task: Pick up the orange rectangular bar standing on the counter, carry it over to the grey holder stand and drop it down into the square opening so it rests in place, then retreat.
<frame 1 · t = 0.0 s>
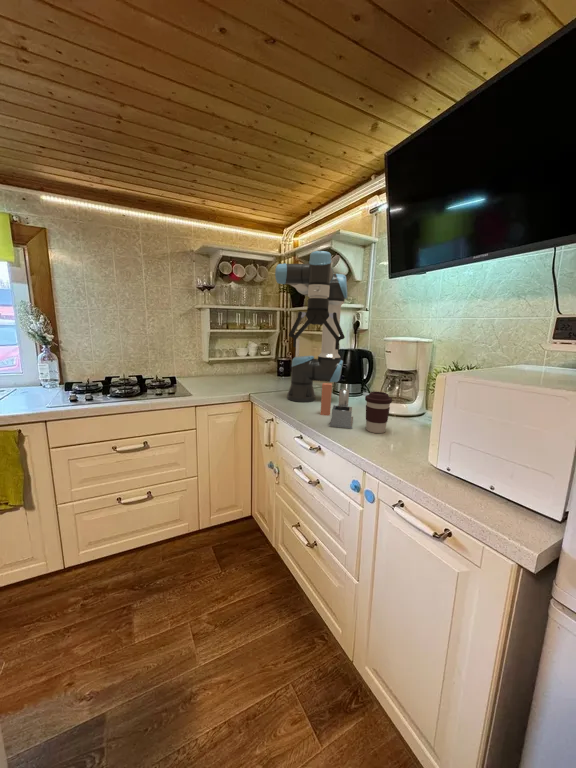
hand: (315, 357, 118), 28 cm above the worktop, fingers open, 13 cm apart
grey holder stand: (341, 422, 134), on the worktop
orange rectangular bar: (325, 414, 146), on the worktop
coffee cup: (375, 431, 125), on the worktop
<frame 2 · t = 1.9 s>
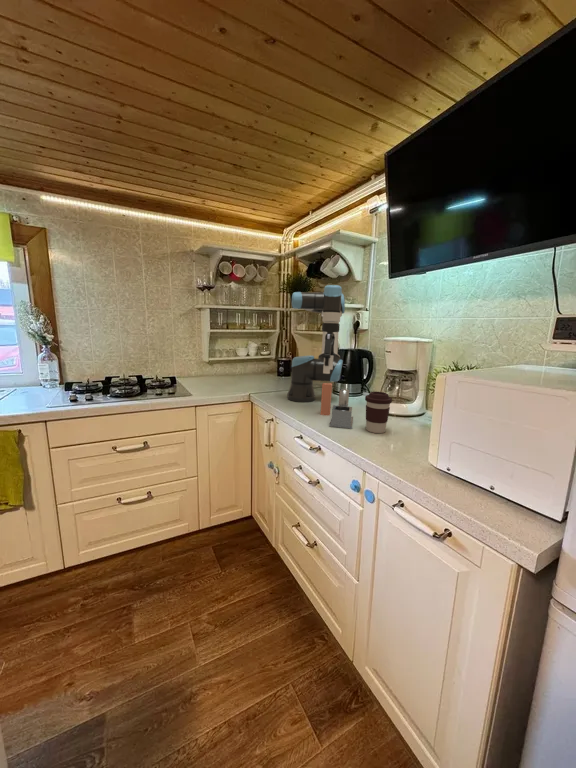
hand: (328, 371, 142), 20 cm above the worktop, fingers open, 13 cm apart
nothing on the worktop moved.
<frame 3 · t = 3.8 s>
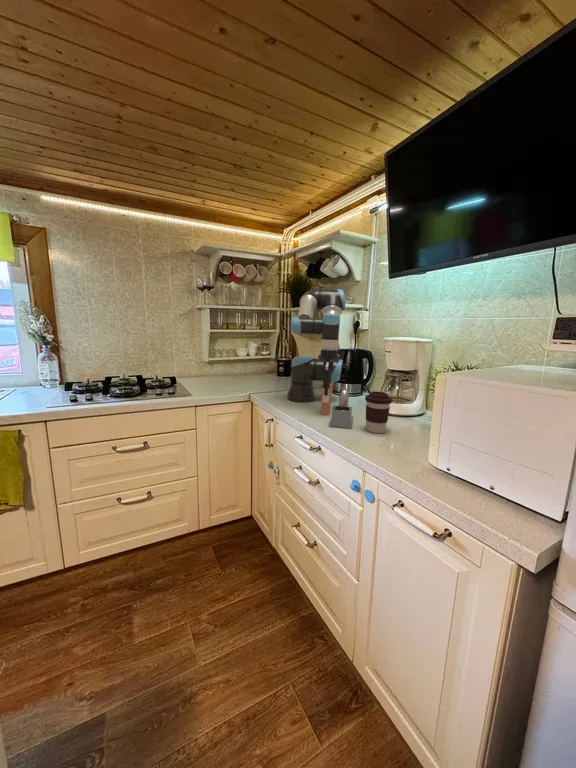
hand: (326, 400, 144), 6 cm above the worktop, fingers closed on orange rectangular bar, 4 cm apart
orange rectangular bar: (325, 414, 146), on the worktop, touching gripper
everything else where it was.
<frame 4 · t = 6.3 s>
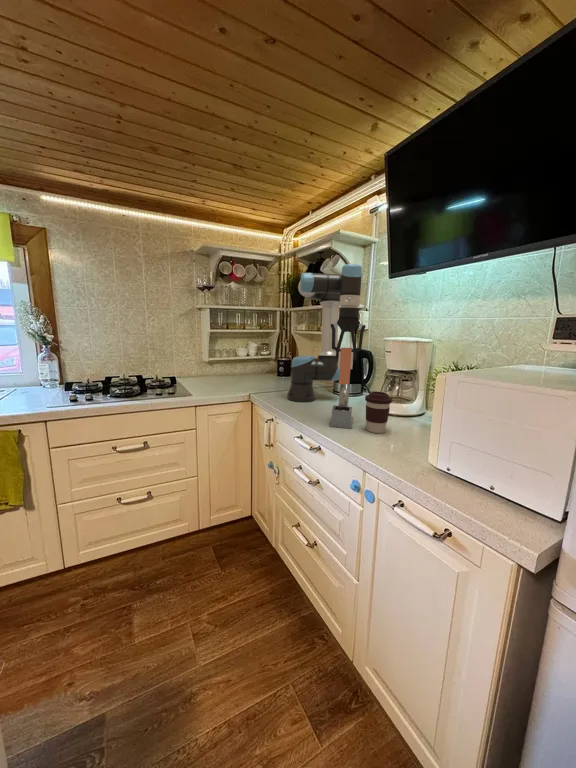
hand: (345, 368, 126), 23 cm above the worktop, fingers closed on orange rectangular bar, 4 cm apart
orange rectangular bar: (344, 383, 127), point 17 cm above the worktop, touching gripper
everything else where it was.
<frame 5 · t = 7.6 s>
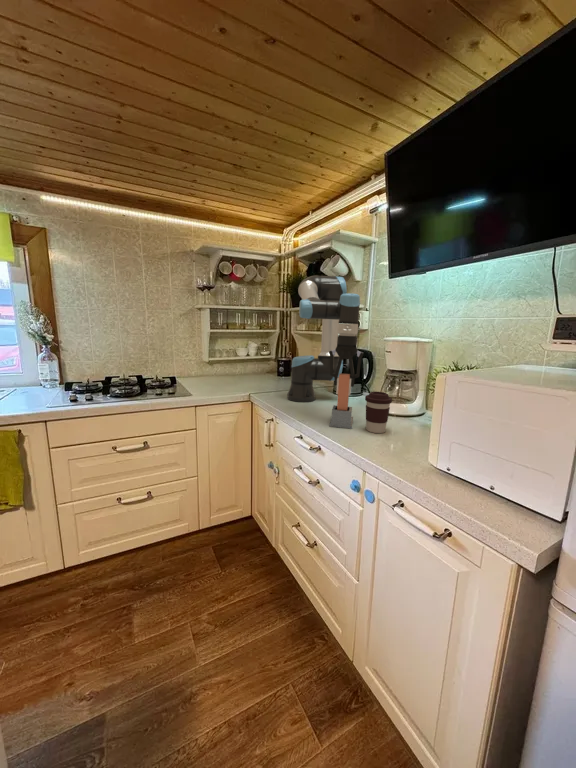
hand: (343, 393, 128), 13 cm above the worktop, fingers closed on orange rectangular bar, 4 cm apart
orange rectangular bar: (342, 408, 129), point 7 cm above the worktop, touching gripper
everything else where it was.
when the fingers open (9 cm above the worktop, at t = 8.8 s): orange rectangular bar drops 1 cm, resting on grey holder stand.
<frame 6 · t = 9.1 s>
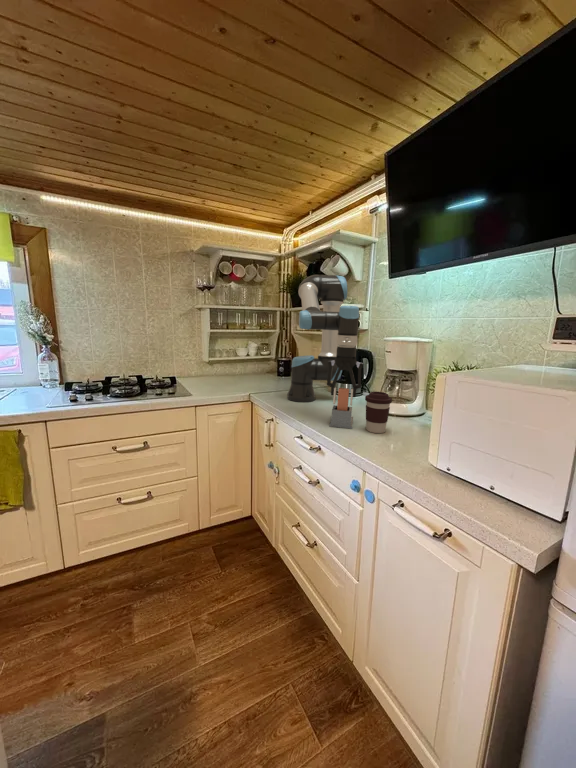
hand: (342, 403, 129), 9 cm above the worktop, fingers open, 6 cm apart
orange rectangular bar: (341, 422, 130), point 1 cm above the worktop, touching grey holder stand
everything else where it was.
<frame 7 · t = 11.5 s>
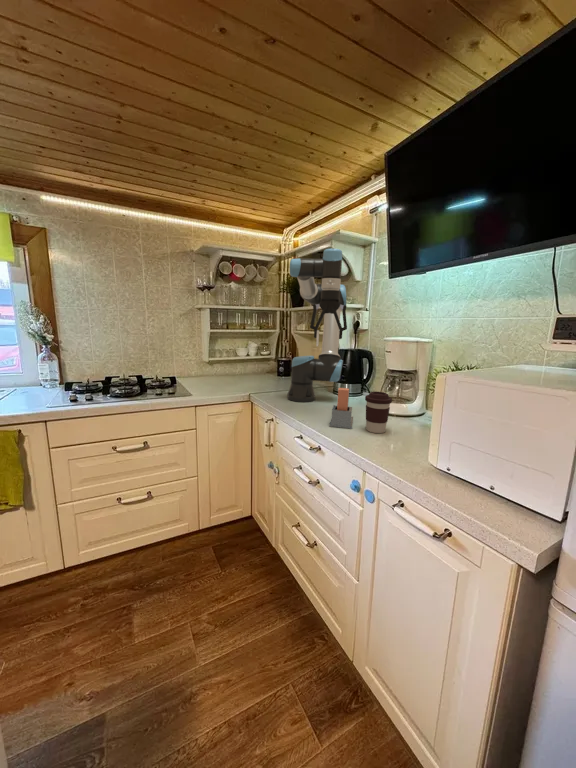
hand: (327, 346, 134), 31 cm above the worktop, fingers open, 8 cm apart
nothing on the worktop moved.
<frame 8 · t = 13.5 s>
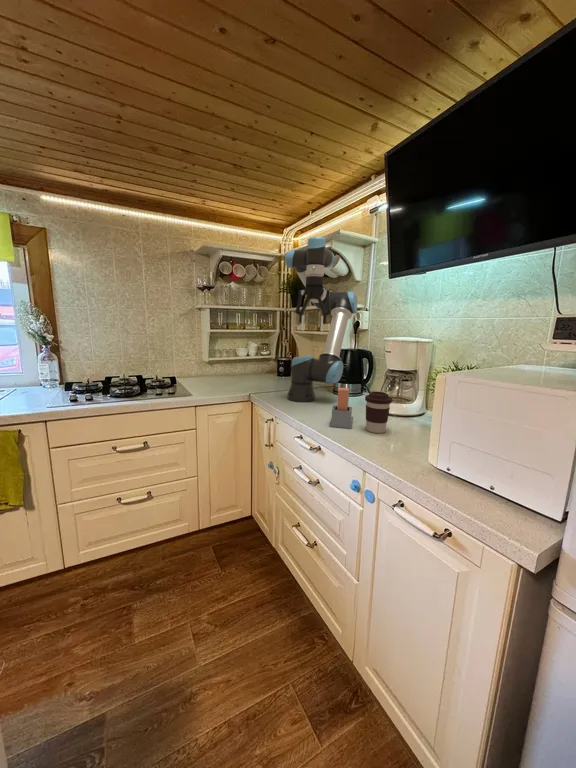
hand: (312, 330, 140), 37 cm above the worktop, fingers open, 8 cm apart
nothing on the worktop moved.
at the end: orange rectangular bar 0.0 cm from the target spot on the grey holder stand, point 1.0 cm above the grey holder stand's base; orange rectangular bar tilted 0°; the gripper is holding nothing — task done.
